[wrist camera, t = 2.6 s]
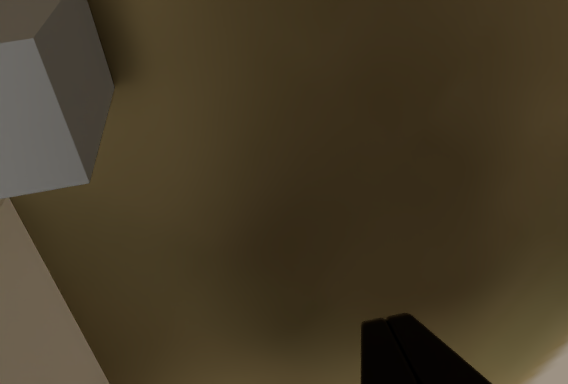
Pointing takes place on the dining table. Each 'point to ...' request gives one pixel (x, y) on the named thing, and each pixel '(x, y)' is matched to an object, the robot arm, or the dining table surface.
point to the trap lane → (50, 95)
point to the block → (36, 317)
